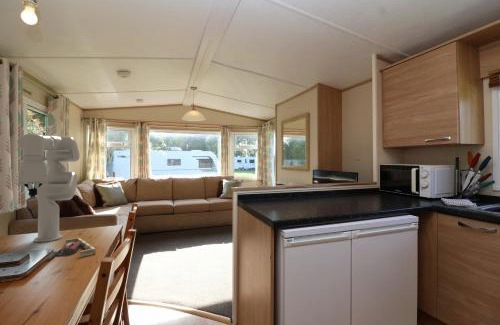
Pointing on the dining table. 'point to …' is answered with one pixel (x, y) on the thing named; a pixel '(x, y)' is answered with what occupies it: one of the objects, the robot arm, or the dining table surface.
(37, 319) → the dining table surface
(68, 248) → the walkie-talkie
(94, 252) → the beige segmented bracket
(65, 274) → the dining table surface
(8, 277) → the dining table surface
